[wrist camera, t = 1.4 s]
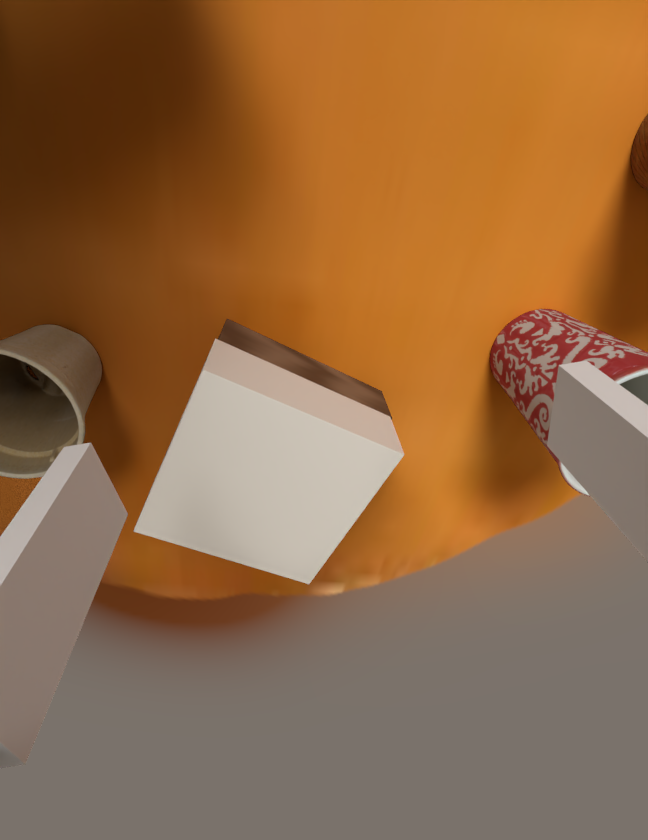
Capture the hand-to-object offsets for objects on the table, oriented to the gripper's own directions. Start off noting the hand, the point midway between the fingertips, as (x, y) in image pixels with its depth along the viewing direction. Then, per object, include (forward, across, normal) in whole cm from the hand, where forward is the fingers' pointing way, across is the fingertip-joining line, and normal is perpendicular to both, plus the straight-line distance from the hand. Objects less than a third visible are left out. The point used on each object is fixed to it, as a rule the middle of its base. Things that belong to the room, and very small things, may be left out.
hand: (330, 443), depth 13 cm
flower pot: (+23, -20, -5) cm, 31 cm away
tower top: (+18, -5, -13) cm, 23 cm away
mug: (+23, +19, -11) cm, 32 cm away
